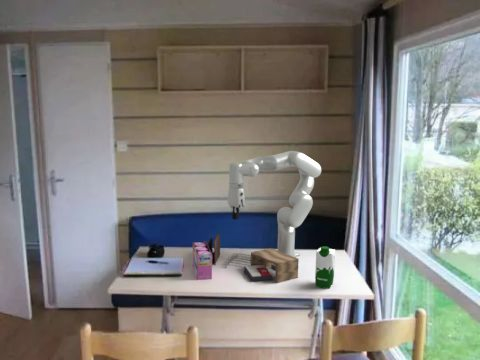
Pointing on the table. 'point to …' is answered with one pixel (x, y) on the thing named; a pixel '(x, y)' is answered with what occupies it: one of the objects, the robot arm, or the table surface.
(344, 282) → the table surface
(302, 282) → the table surface
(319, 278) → the milk carton
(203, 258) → the gum box
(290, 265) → the tan block
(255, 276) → the calculator
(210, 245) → the letter holder
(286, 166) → the robot arm
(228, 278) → the table surface
